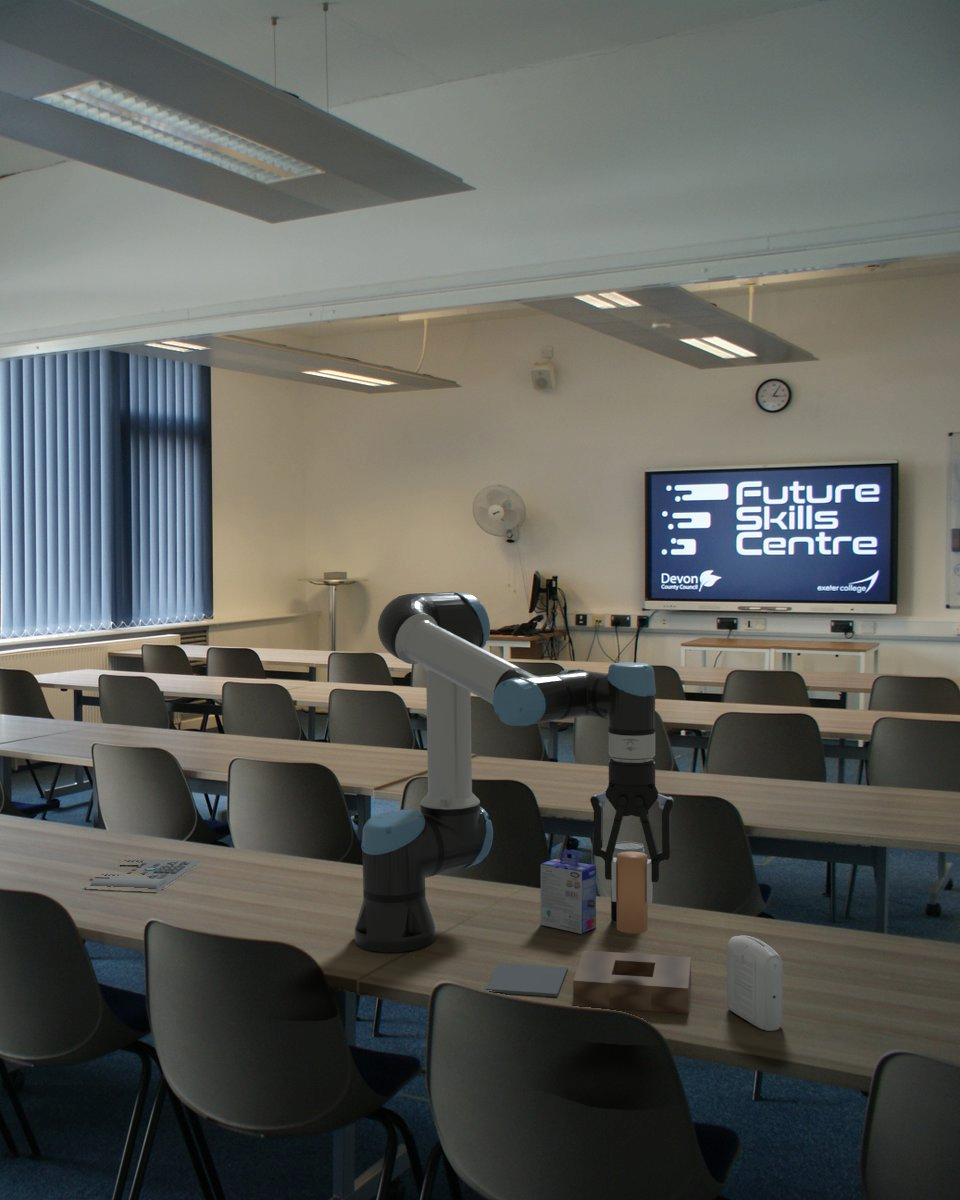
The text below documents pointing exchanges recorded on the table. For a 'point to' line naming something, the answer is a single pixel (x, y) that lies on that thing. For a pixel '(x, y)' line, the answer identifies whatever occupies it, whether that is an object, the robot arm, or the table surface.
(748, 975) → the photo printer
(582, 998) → the pocket block
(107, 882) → the office telephone
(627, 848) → the beverage can
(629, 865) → the peg
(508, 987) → the mat
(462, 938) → the table surface
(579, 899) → the ink cartridge box
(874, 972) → the table surface
